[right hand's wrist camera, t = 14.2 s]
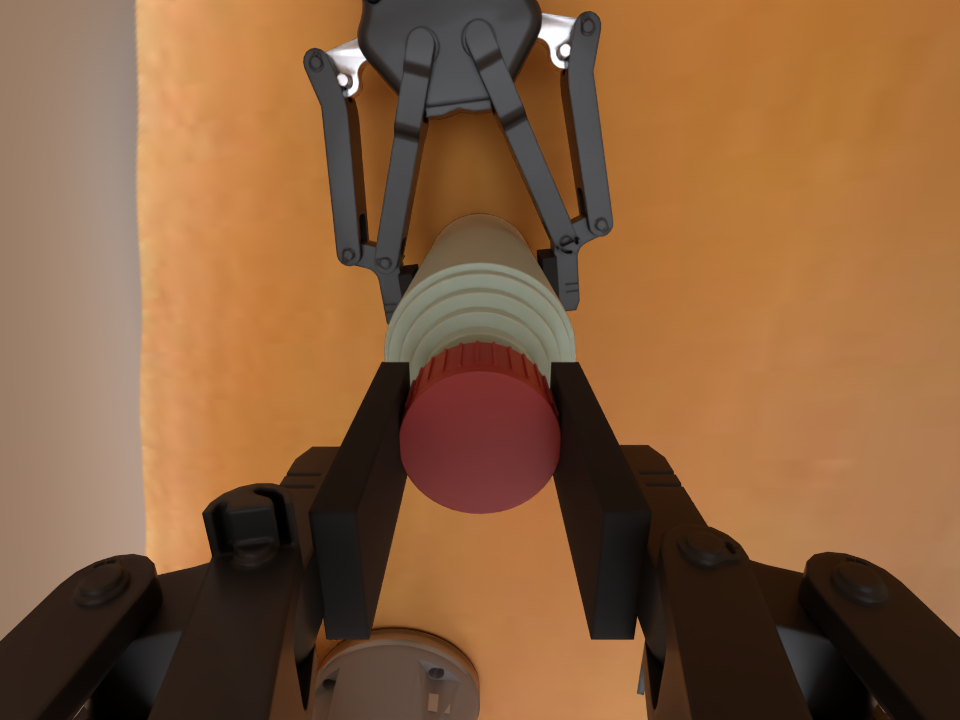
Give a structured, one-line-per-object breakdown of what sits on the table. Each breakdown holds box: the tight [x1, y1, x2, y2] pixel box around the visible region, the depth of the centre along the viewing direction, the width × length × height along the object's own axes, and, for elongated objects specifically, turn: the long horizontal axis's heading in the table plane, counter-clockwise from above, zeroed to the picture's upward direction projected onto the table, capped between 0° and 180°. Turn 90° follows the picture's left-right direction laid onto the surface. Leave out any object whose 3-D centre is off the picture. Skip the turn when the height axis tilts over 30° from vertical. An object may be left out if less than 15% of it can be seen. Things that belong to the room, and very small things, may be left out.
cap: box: [399, 341, 561, 514], centre depth 14 cm, size 4×4×2 cm
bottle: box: [384, 214, 576, 389], centre depth 24 cm, size 7×7×23 cm
